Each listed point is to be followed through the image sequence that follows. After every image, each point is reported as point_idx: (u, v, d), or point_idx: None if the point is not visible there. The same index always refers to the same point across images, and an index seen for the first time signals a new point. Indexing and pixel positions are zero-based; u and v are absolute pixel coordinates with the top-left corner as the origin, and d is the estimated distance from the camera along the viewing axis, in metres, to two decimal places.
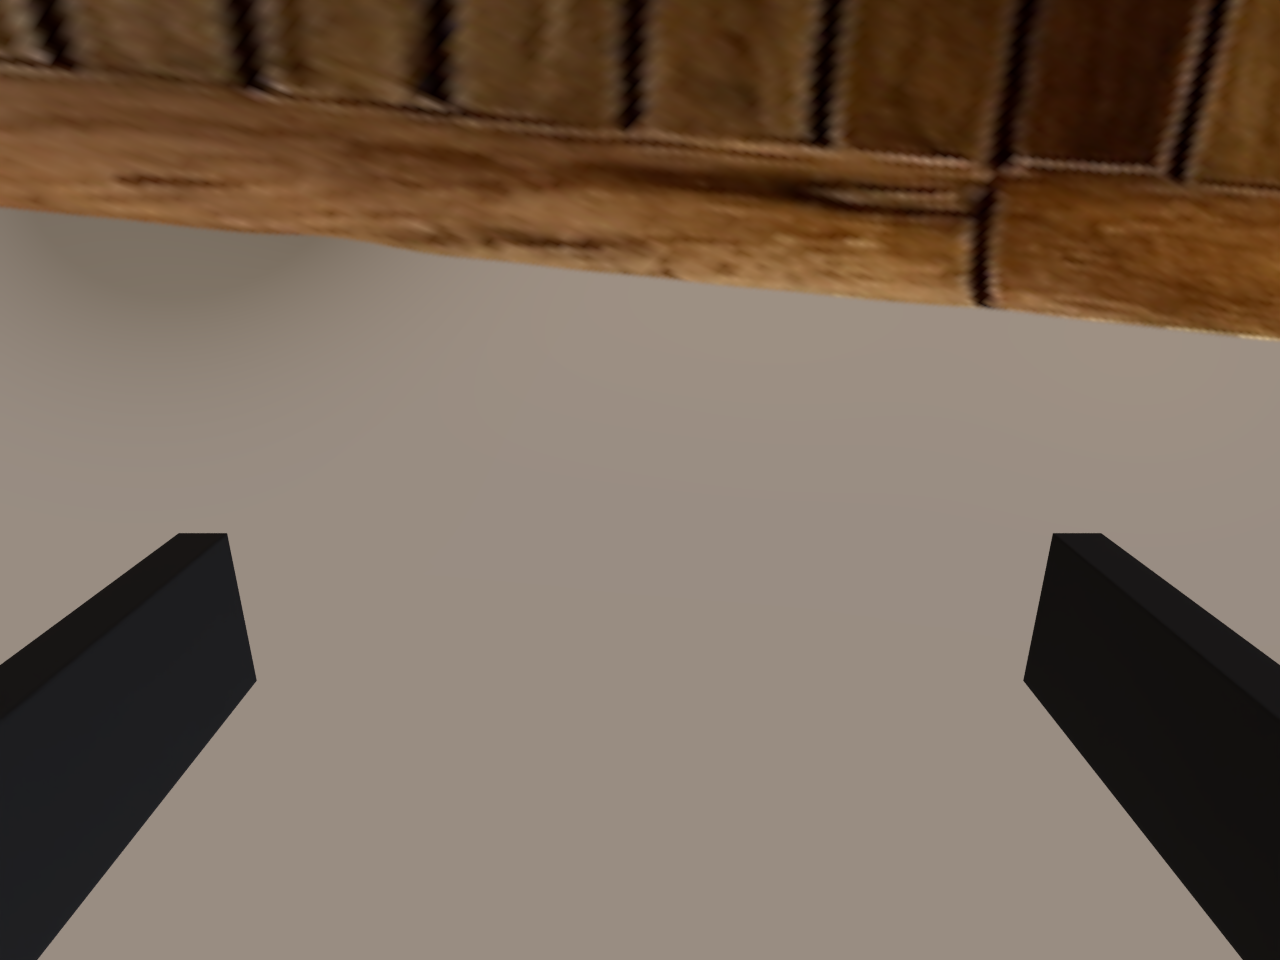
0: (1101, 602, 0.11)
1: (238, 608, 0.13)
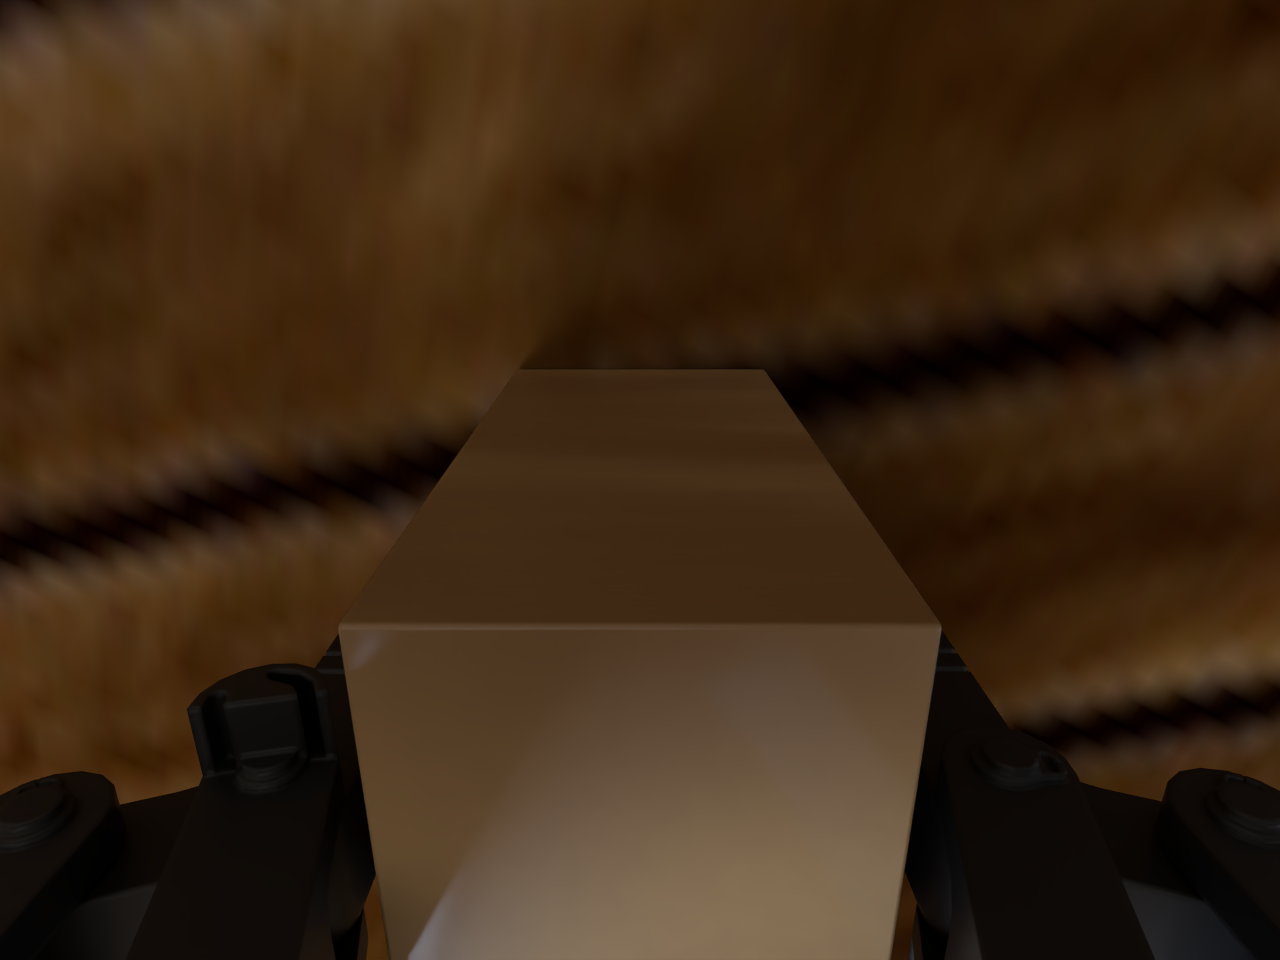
0: None
1: None
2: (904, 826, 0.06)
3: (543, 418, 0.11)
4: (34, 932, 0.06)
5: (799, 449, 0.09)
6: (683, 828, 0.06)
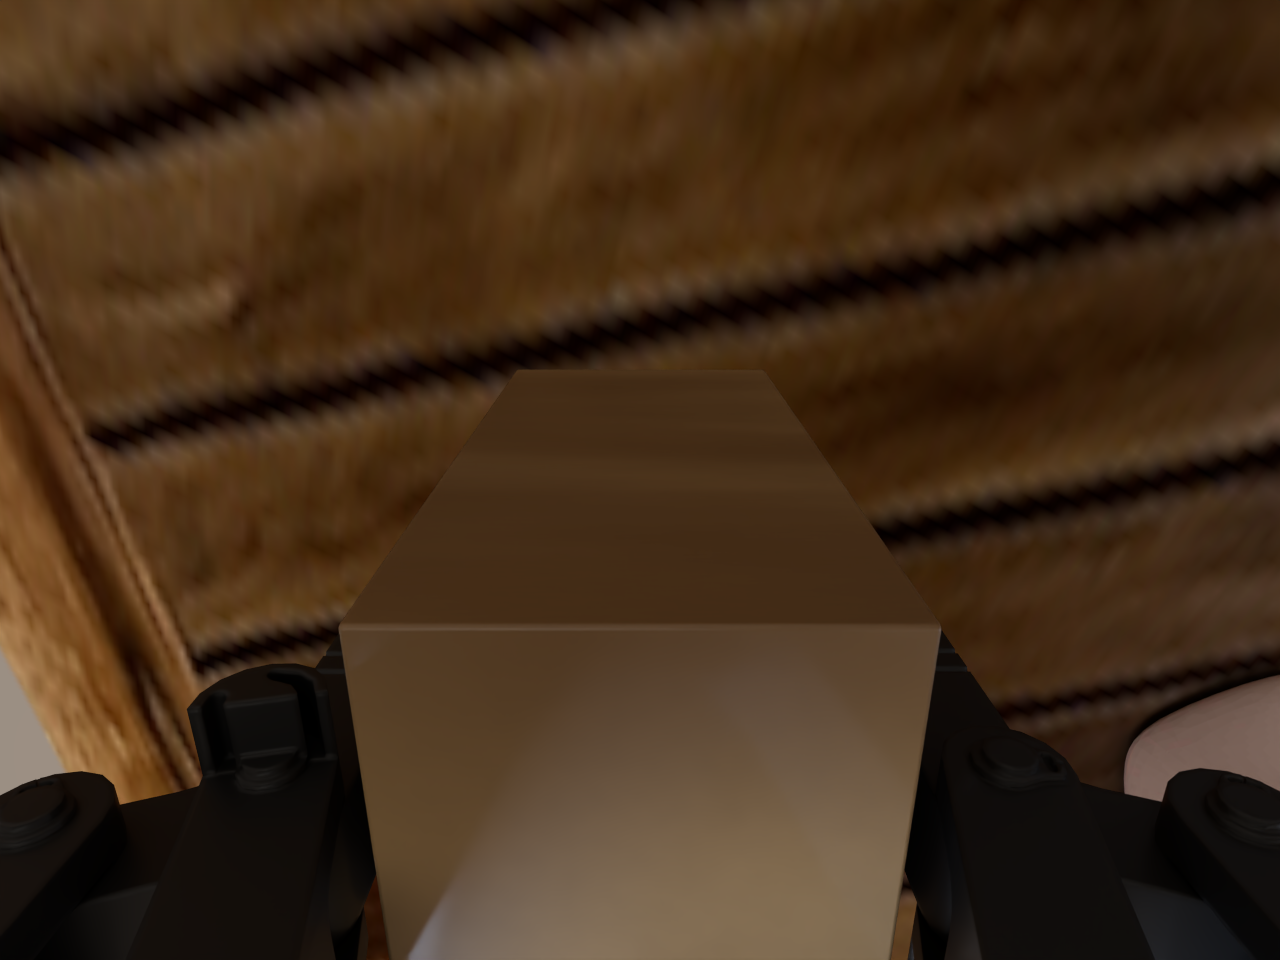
0: None
1: None
2: (904, 826, 0.06)
3: (543, 418, 0.11)
4: (33, 932, 0.06)
5: (799, 449, 0.10)
6: (684, 829, 0.06)
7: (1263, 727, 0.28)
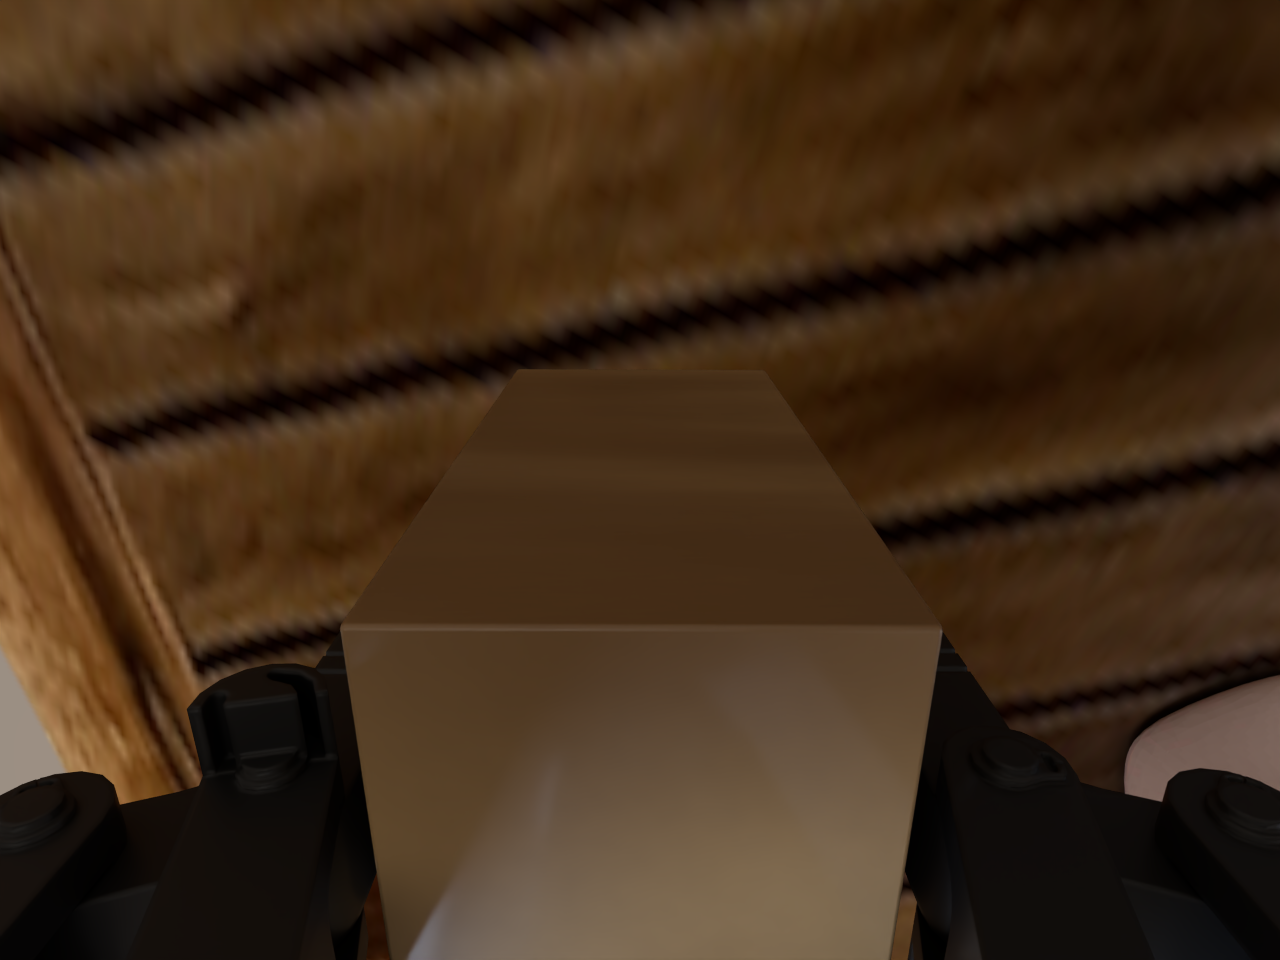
0: None
1: None
2: (905, 827, 0.06)
3: (544, 418, 0.11)
4: (33, 932, 0.06)
5: (800, 450, 0.10)
6: (685, 829, 0.06)
7: (1263, 727, 0.28)
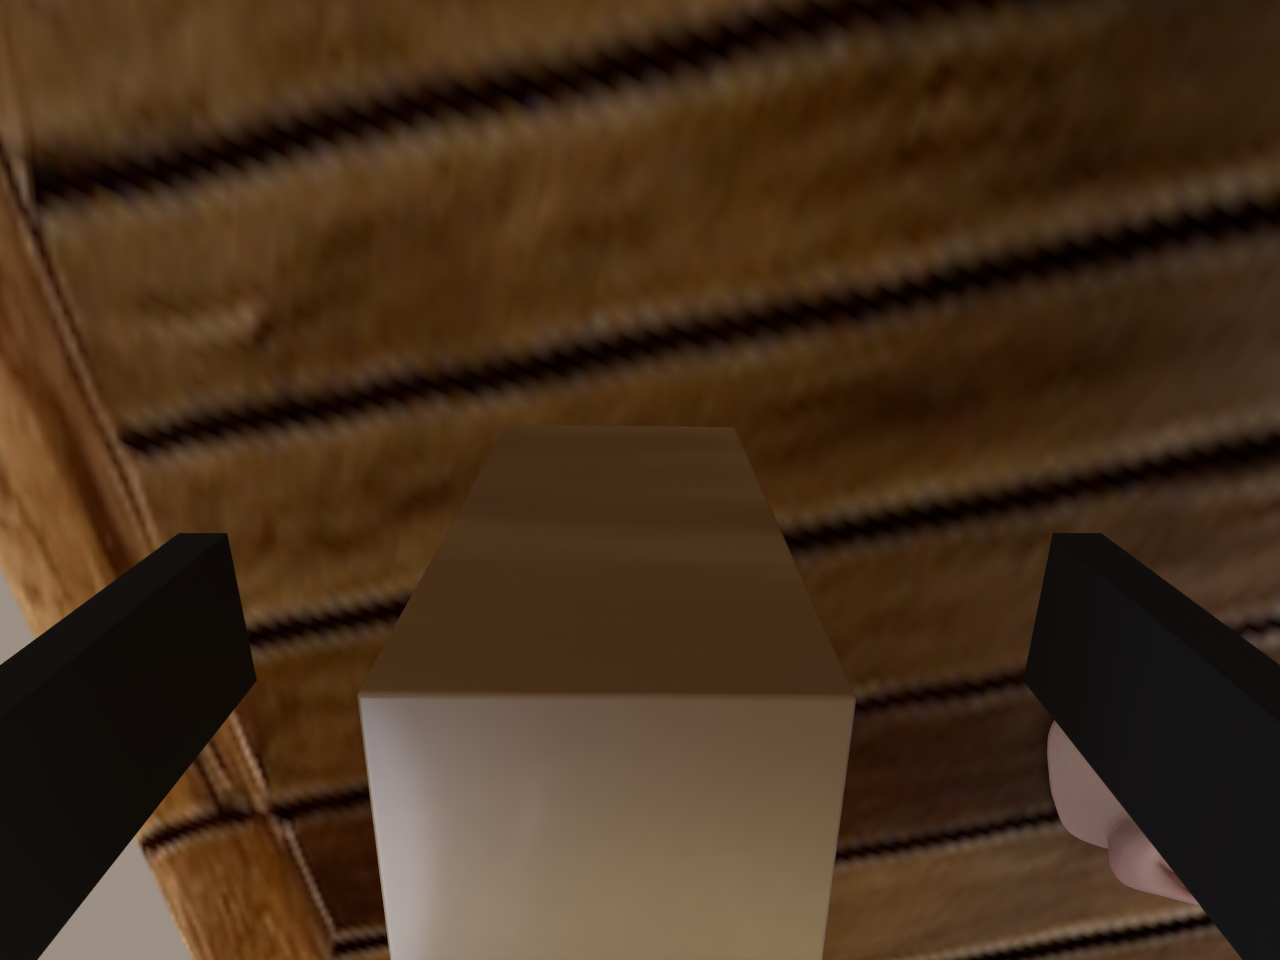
0: (1101, 601, 0.11)
1: (238, 608, 0.13)
2: (829, 860, 0.08)
3: (530, 480, 0.12)
4: None
5: (757, 518, 0.11)
6: (645, 862, 0.07)
7: None
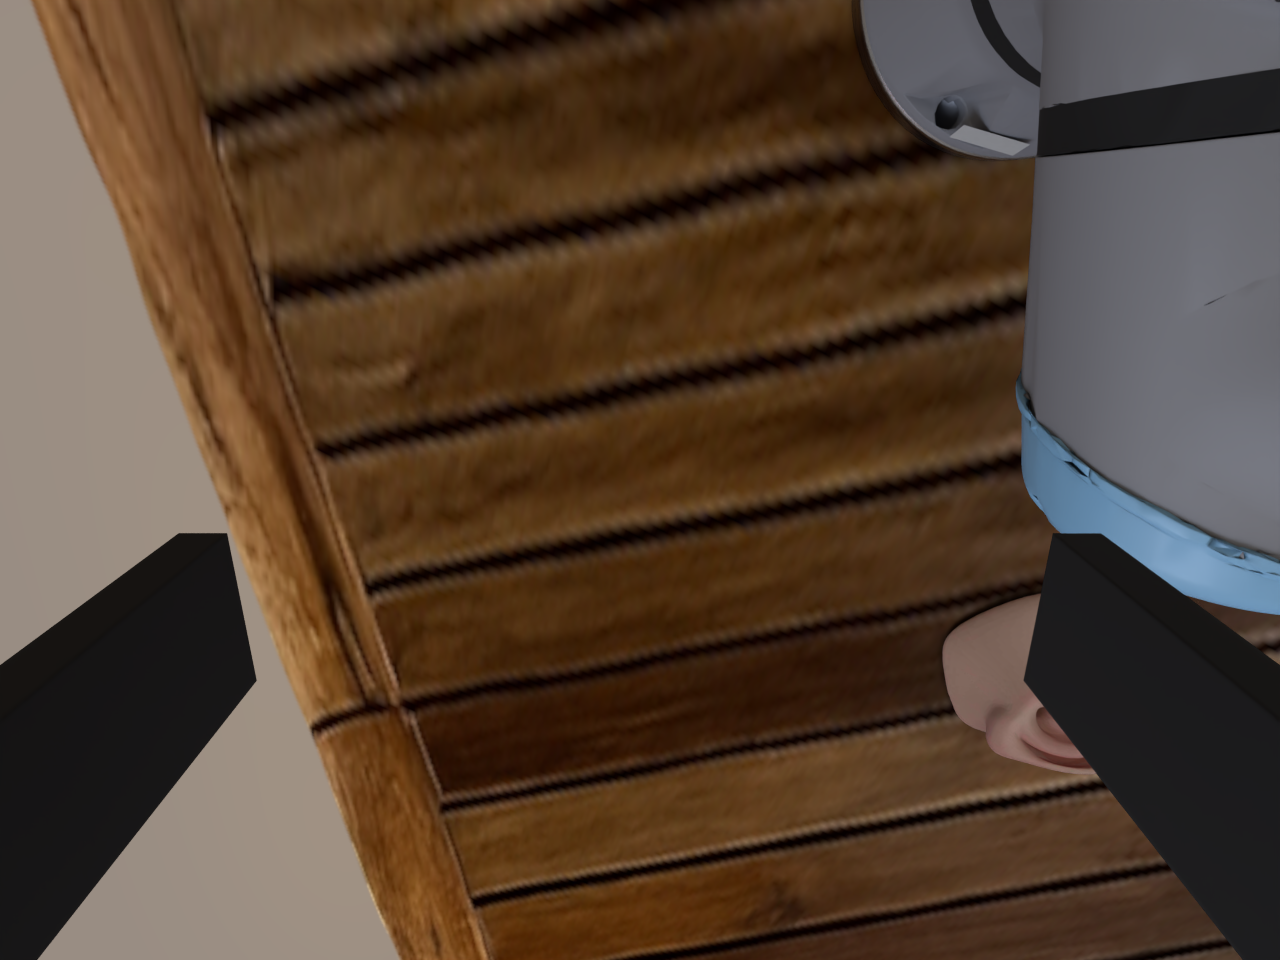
0: (1101, 602, 0.11)
1: (238, 608, 0.13)
2: None
3: None
4: None
5: None
6: None
7: (1020, 626, 0.46)
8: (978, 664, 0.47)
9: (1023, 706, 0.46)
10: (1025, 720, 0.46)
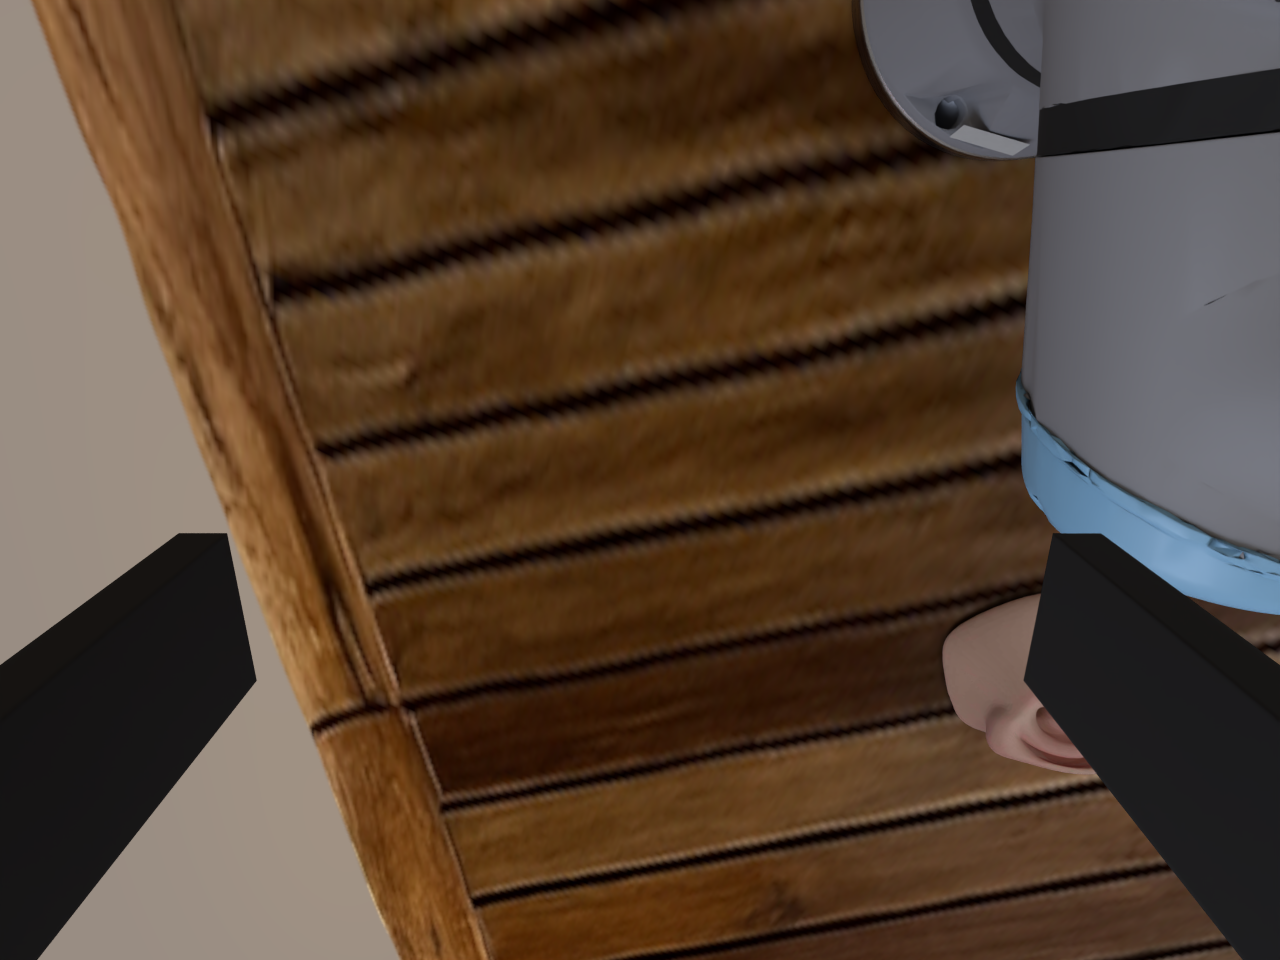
0: (1101, 602, 0.11)
1: (238, 608, 0.13)
2: None
3: None
4: None
5: None
6: None
7: (1020, 626, 0.46)
8: (978, 664, 0.47)
9: (1023, 706, 0.46)
10: (1025, 720, 0.46)
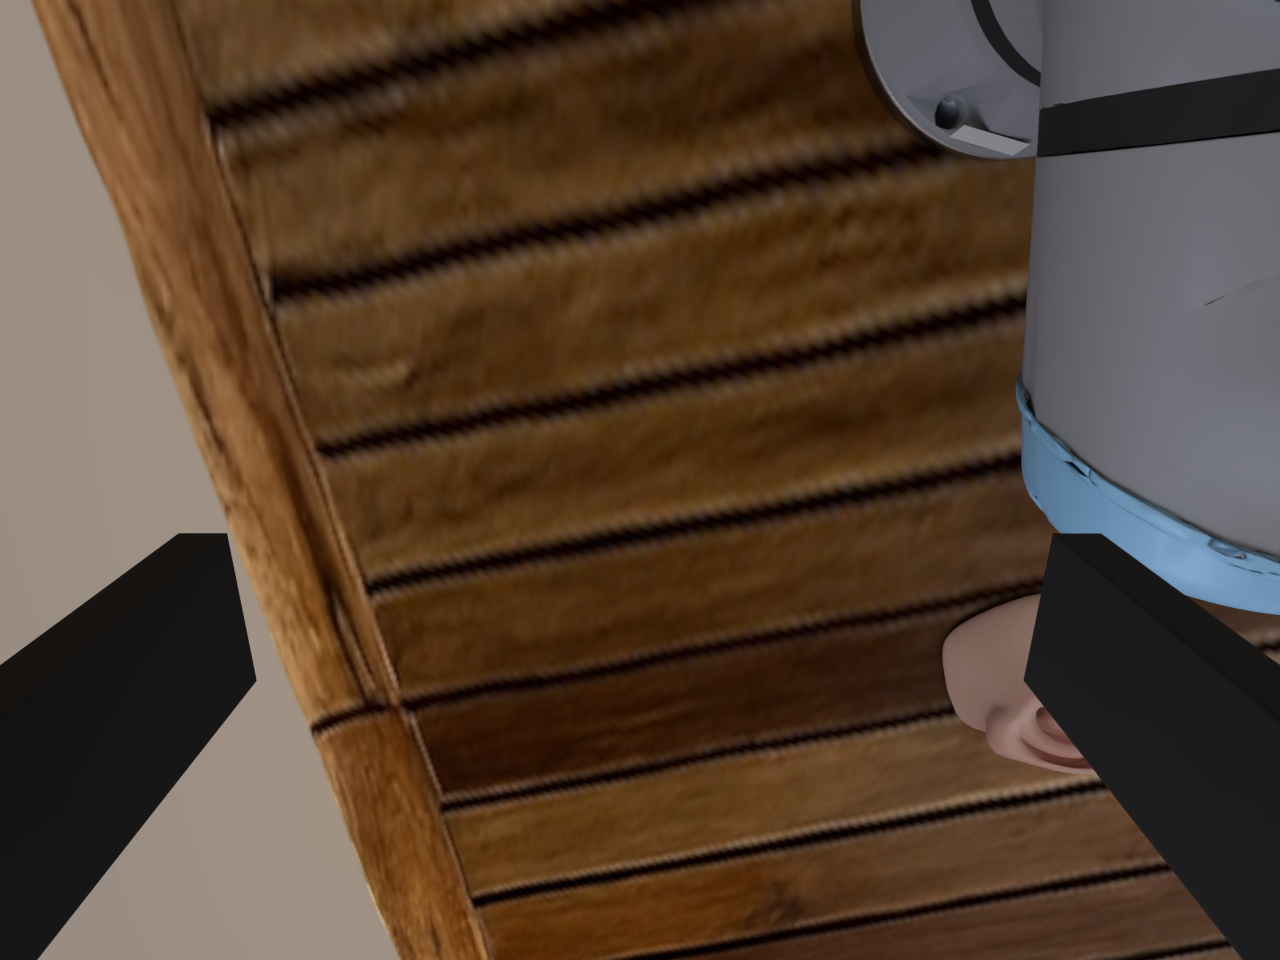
0: (1101, 602, 0.11)
1: (238, 608, 0.13)
2: None
3: None
4: None
5: None
6: None
7: (1020, 626, 0.46)
8: (978, 664, 0.47)
9: (1023, 706, 0.46)
10: (1025, 720, 0.46)
